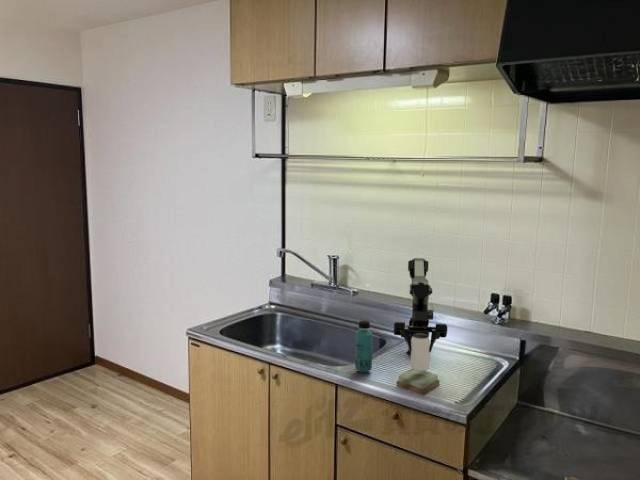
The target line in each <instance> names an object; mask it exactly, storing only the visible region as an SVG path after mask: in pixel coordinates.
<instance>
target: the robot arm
mask: <svg viewBox="0 0 640 480" xmlns="http://www.w3.org/2000/svg"><path fill="white" fill-rule="evenodd" d="M407 272H409V278H410V279H411V284H409V295H411V298H412V300H411V303H412V304H411V306H412V307H411V318H410V319H409V320H408V324H406V322H405V321H395V322H393V335H394V336H400V338H403V339H404V341H405V343H406V345H407V349H408V350H407V351H406V352H405V353H406V354H408V355H411V339H412V337H413V334H415V333H424V334H427V335H428V336H429V337H430V354H431V353H432V350H433V348H434V344H435V343H436V340H439V339H440V338H447V336H448V335H447V334H448V325H447V324H446V323H435V326H429V323H430V320H431V321H432V320H434V309H429V305H428V303H429V299H430V296H431V294H433V288H432V287H431V285H430V284H429V280H428V279H427V278H426V277H427V272H429V261H428V260H426V259H425V258H423V257H415V258H414V257H413V258H412V259H411V260H408V261H407ZM430 333H431V335H430Z"/></svg>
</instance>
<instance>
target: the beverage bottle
mask: <svg viewBox="0 0 640 480" xmlns="http://www.w3.org/2000/svg"><path fill="white" fill-rule="evenodd" d="M370 323H371V322H370V321H368V320H361V321H359V322H358V330H357V331H356V332H355V353H354V354H355V357H354V365H355V366H354V368H355V370H356V371H357V372H362V373H363V372H365V373H366V372H370V371H371V370H372V368H373V366H372V365H373V332H372V330H370V329H369V328H371V324H370Z"/></svg>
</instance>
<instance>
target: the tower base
mask: <svg viewBox="0 0 640 480" xmlns="http://www.w3.org/2000/svg"><path fill="white" fill-rule="evenodd" d="M438 375H439V374H437V373H433V372H430V371H428V370H426V371H415V370H413V369H412V368H409V370H406V371H405V372H403V373H402V374H400V375H398V380H397V381H396V388H399V389H402V388H403V390H405V389H406V390H405V391H408V390H409V392H412V393H414V394H415V393H416V394H418V395H422V396H425V395H427V394H428V393H430V392H432V391H433V390H434V389H436V388H437V387H439V386H440V379H439V377H438Z"/></svg>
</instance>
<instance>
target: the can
mask: <svg viewBox="0 0 640 480" xmlns="http://www.w3.org/2000/svg"><path fill="white" fill-rule="evenodd" d="M429 337H430V335H429V336H428V335H427V334H424V333H415V334H413V337H412V339H411V354H410V369H413V370H415V371H428V370H429V369H430V354H431V353H430V341H431V339H430V338H429Z"/></svg>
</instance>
